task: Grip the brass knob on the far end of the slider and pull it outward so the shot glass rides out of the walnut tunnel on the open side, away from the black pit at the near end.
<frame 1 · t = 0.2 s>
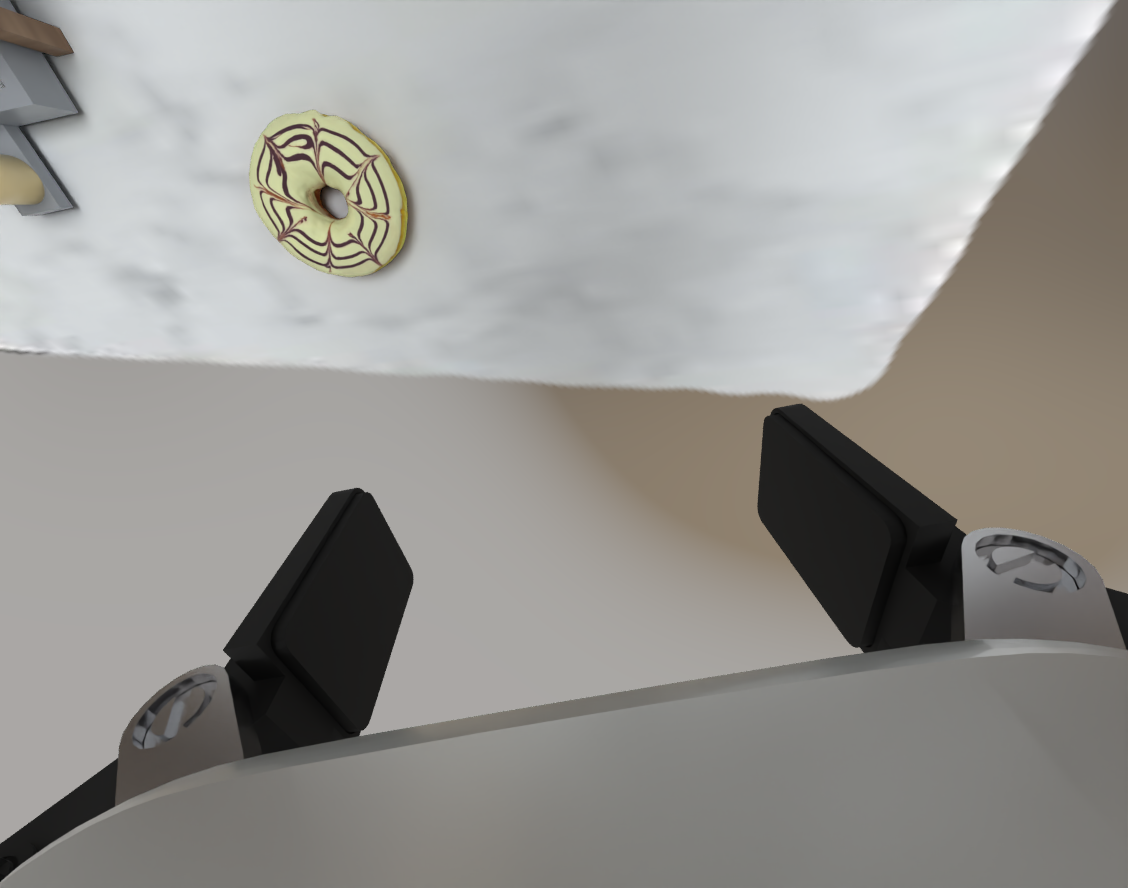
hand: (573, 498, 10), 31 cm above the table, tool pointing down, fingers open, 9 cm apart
decorated donut: (343, 200, 33), on the table
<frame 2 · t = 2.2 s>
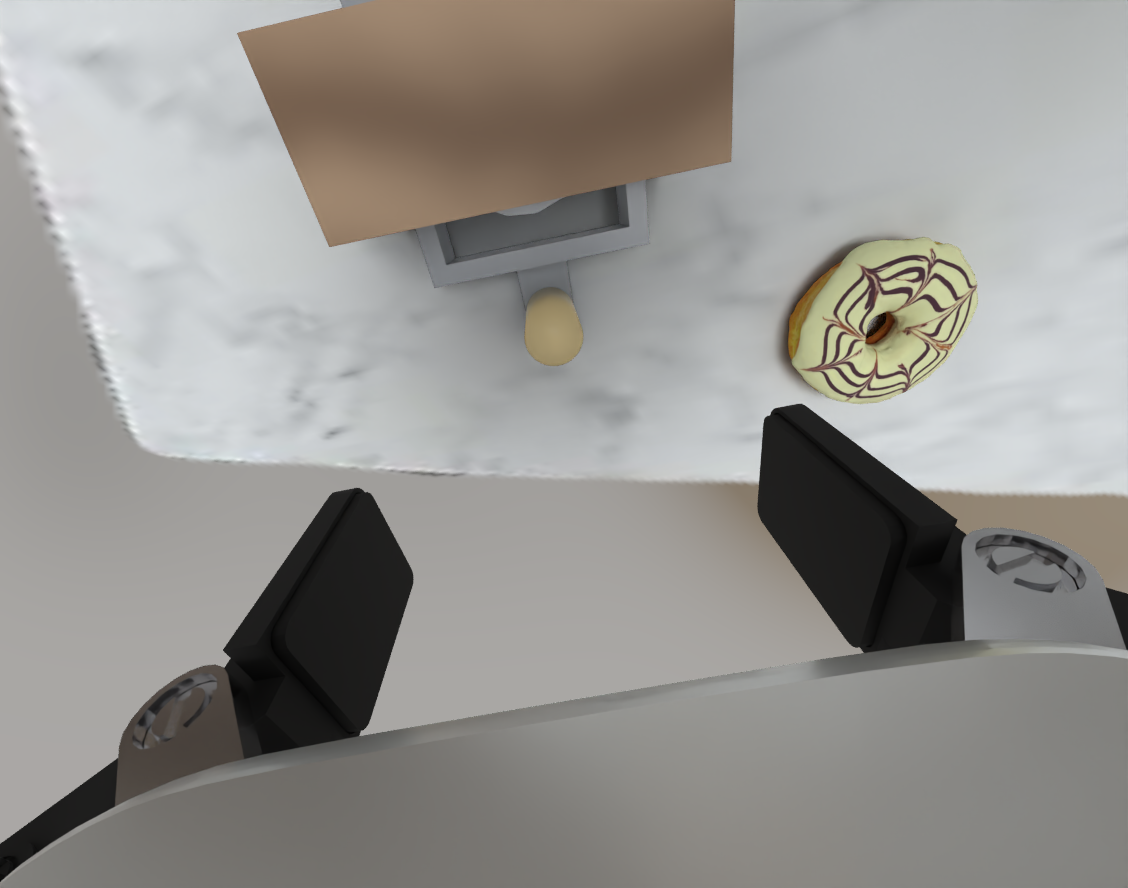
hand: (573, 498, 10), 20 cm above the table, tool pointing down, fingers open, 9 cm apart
shot glass: (517, 140, 23), resting in slider
decorated donut: (855, 318, 29), on the table
slider: (514, 130, 19), point 4 cm above the table, slide at 0.0 cm
tunnel: (517, 140, 23), on the table
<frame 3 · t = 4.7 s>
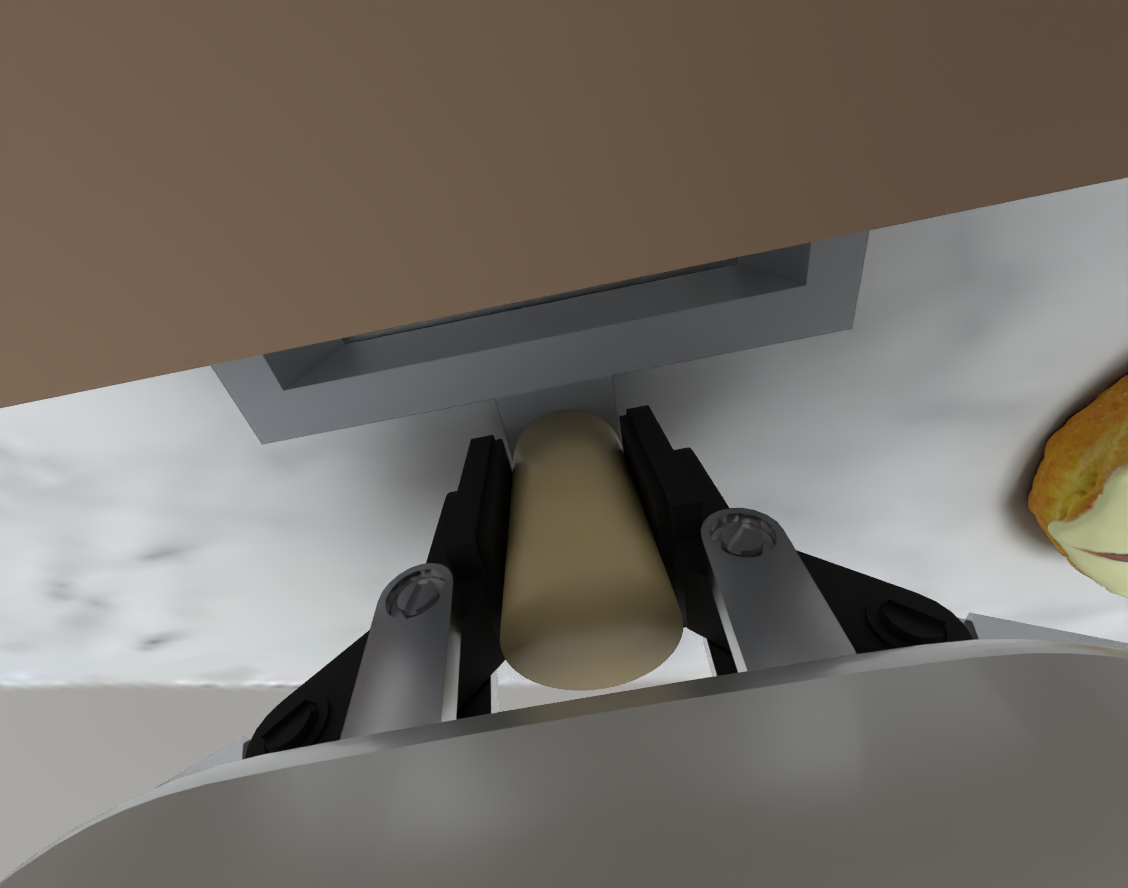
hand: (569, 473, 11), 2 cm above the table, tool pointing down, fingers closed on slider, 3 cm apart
tunnel: (483, 44, 8), on the table
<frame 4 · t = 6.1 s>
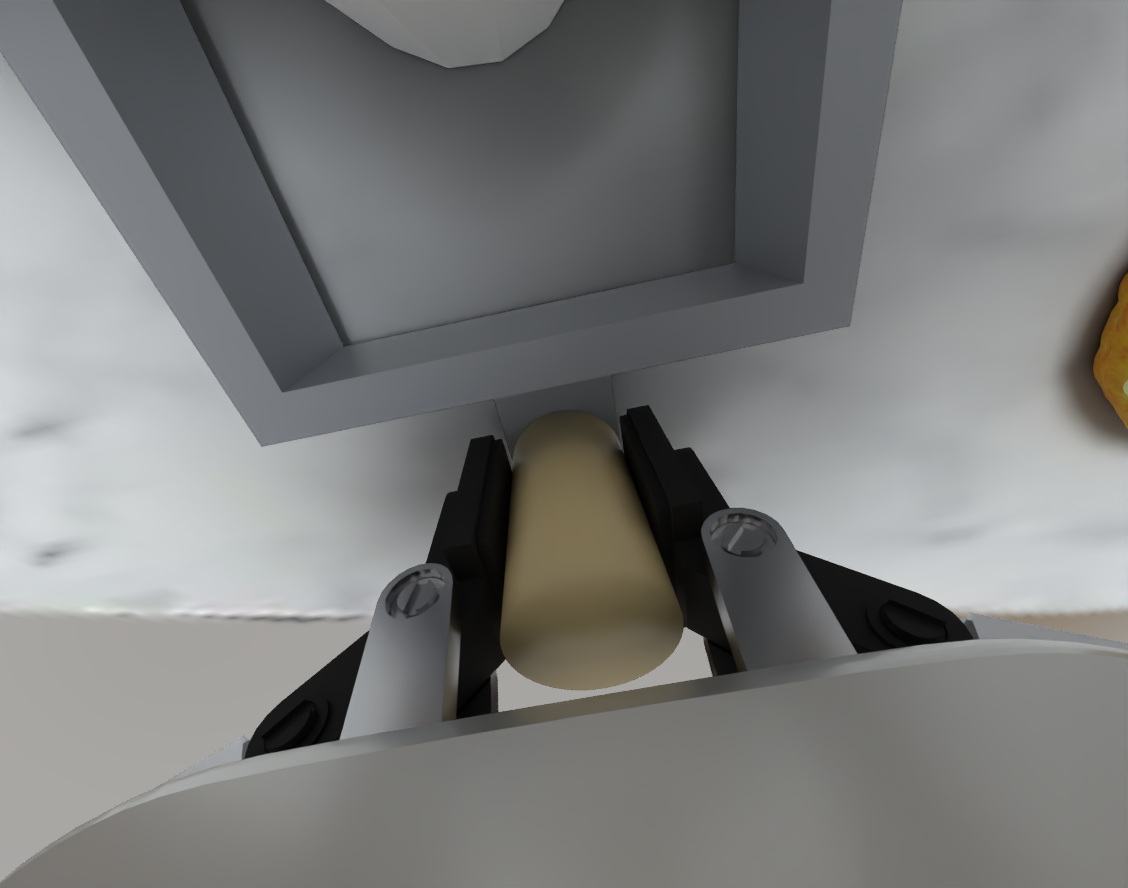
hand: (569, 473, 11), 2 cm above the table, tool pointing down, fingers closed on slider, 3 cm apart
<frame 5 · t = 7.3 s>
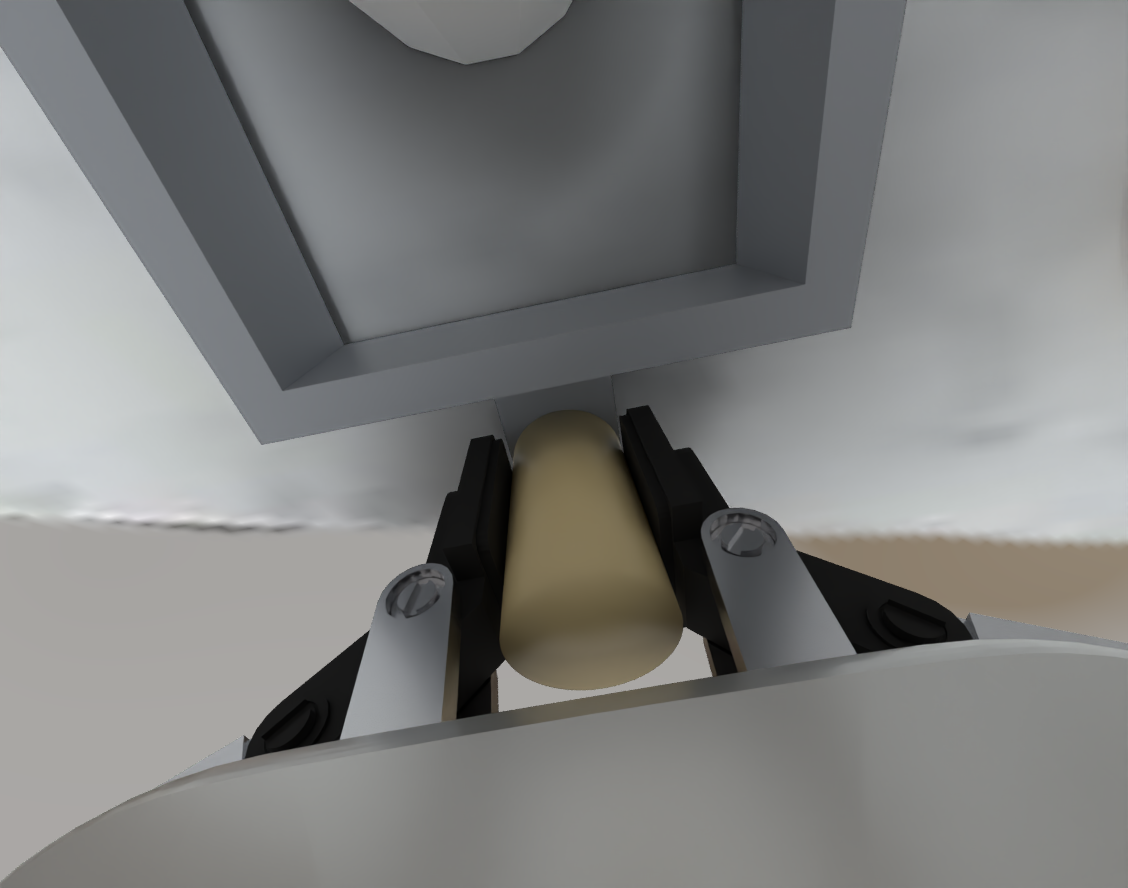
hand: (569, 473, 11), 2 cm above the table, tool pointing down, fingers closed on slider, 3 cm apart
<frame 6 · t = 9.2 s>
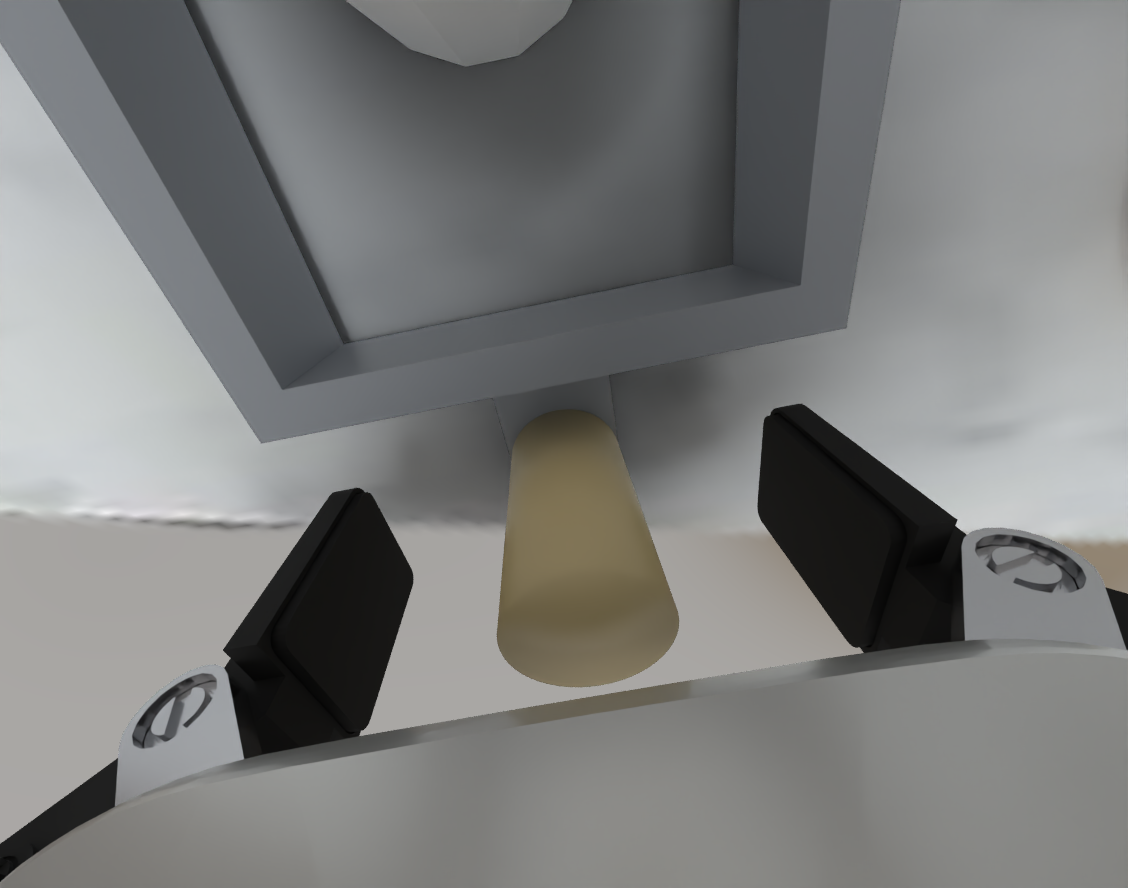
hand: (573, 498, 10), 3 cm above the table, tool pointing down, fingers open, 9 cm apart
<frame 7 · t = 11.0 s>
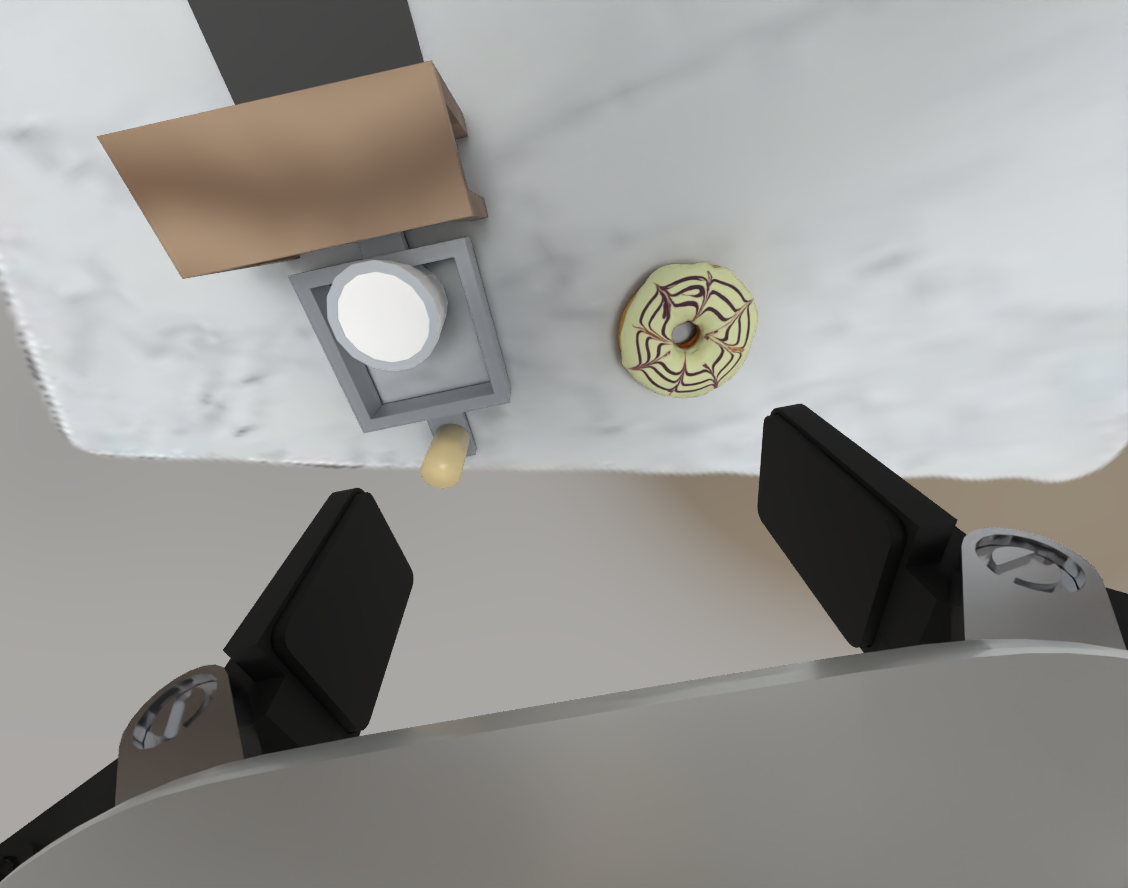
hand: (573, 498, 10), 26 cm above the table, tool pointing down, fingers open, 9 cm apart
shot glass: (411, 300, 32), resting in slider
decorated donut: (677, 327, 35), on the table
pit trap: (304, 14, 24), on the table
slider: (408, 346, 30), point 4 cm above the table, slide at 9.9 cm
tunnel: (368, 191, 29), on the table
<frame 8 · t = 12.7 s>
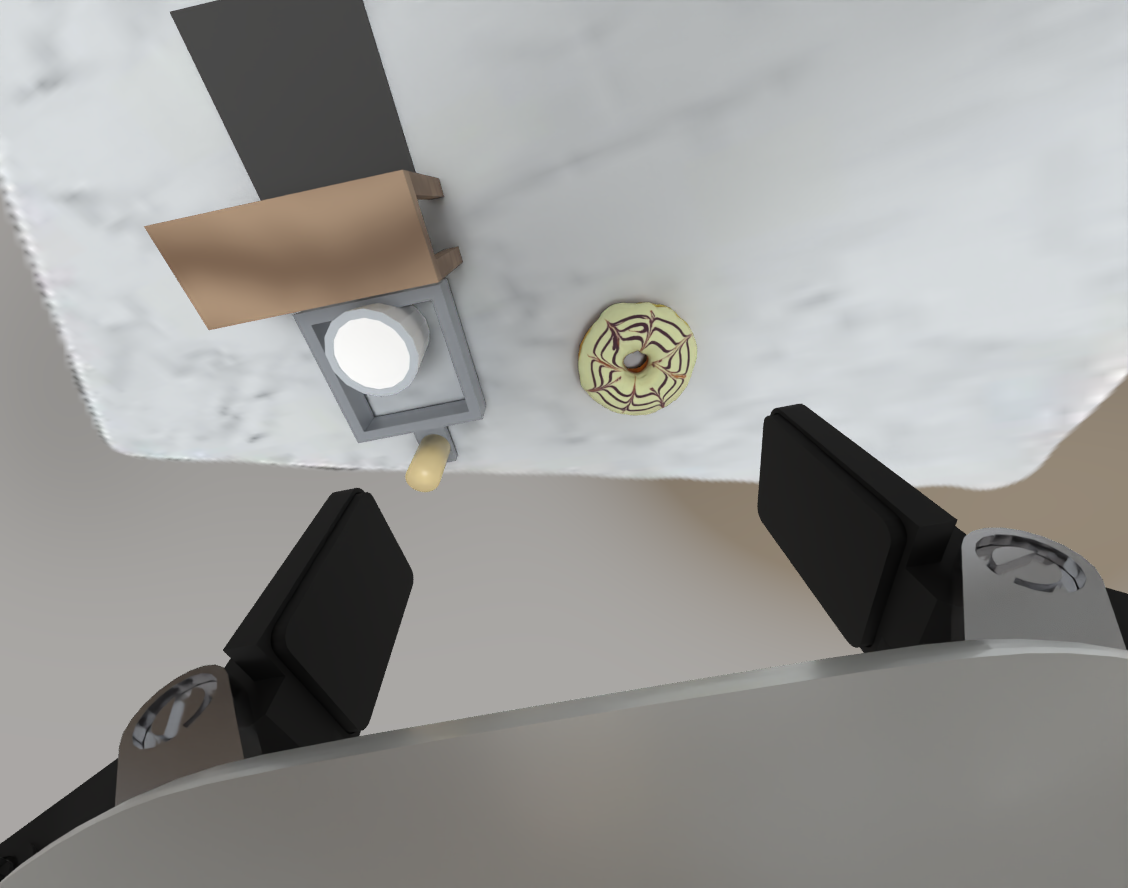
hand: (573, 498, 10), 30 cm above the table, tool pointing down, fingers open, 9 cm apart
shot glass: (398, 330, 37), resting in slider
decorated donut: (631, 353, 40), on the table
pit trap: (304, 101, 29), on the table
slider: (394, 372, 35), point 4 cm above the table, slide at 9.9 cm
tunnel: (360, 241, 34), on the table
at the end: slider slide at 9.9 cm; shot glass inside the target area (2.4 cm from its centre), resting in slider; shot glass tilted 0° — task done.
